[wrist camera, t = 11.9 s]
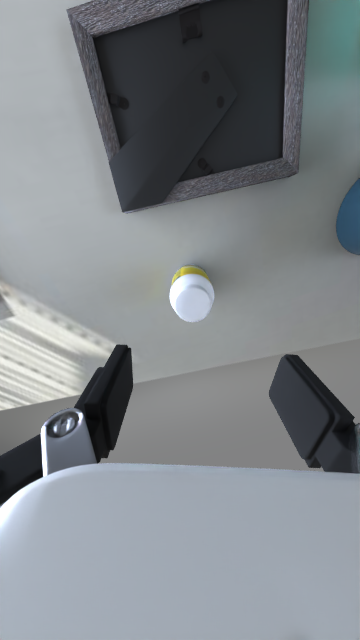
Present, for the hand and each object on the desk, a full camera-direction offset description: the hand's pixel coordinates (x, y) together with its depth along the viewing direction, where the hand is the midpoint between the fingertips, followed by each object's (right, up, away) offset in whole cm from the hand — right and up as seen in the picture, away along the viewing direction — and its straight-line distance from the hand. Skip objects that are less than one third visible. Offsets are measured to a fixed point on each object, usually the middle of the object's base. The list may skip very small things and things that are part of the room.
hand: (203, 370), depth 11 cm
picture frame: (0, +26, +10) cm, 28 cm away
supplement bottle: (0, +9, +18) cm, 20 cm away
